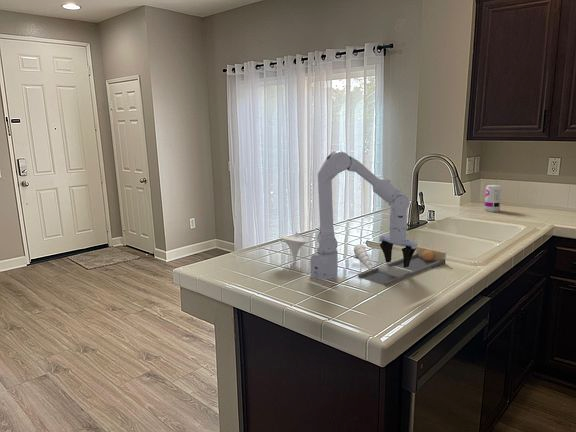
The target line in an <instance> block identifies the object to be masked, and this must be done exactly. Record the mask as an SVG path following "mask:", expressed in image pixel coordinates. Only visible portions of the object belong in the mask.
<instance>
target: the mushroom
mask: <svg viewBox="0 0 576 432" xmlns="http://www.w3.org/2000/svg"><path fill="white" fill-rule="evenodd" d="M280 239H281V240H282V241H284V243H285V244H286V245H287V246H288V247H289V250H290V252H291V255H292V259H293V261H294V263H296V262H297V256H298V253H299V251H300V249H301V248H302V246H303V245H305V244H307V243H308V240H307V239H305V238H304V237H302V236H301V235H300V234H299V233H298V231H296V232H295V233H294V234H293V235H288V236H280Z"/></svg>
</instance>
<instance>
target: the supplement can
mask: <svg viewBox="0 0 576 432" xmlns="http://www.w3.org/2000/svg"><path fill="white" fill-rule="evenodd" d="M484 192H485V196H484V207H483V208H484V210H485V211H486V212H489V213H498V212H499V211H500V209H501V197H502V187H501V185H500V184H499V185H498V184H487V185H486V187H485V191H484Z"/></svg>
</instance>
